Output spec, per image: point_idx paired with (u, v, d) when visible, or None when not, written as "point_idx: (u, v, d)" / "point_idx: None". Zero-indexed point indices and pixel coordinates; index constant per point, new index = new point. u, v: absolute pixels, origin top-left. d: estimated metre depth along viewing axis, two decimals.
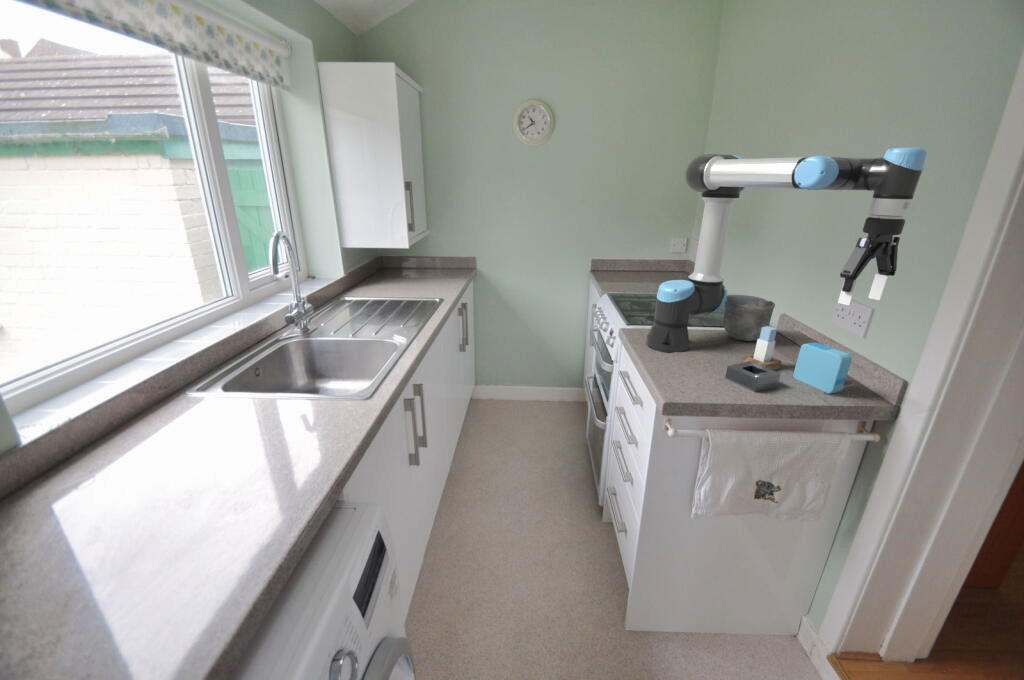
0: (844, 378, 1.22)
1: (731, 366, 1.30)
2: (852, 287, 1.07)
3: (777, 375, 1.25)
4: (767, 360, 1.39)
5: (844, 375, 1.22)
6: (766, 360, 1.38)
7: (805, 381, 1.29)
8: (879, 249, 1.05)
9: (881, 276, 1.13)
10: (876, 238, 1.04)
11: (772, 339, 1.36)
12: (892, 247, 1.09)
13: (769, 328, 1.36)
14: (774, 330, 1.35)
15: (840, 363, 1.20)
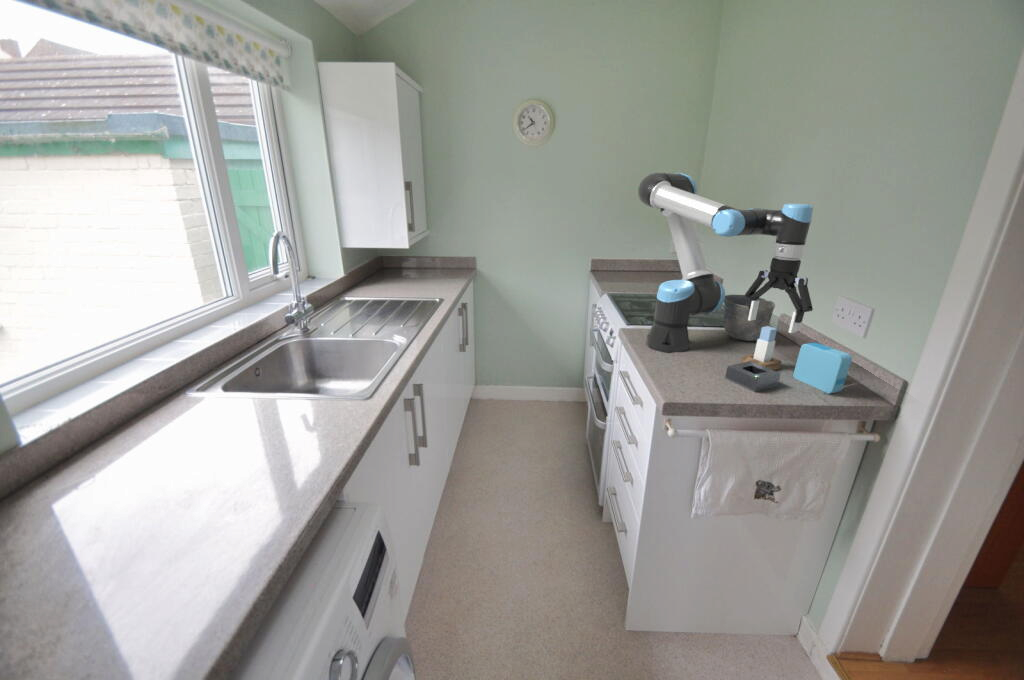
0: (844, 378, 1.22)
1: (731, 366, 1.30)
2: None
3: (777, 375, 1.25)
4: (767, 360, 1.39)
5: (844, 375, 1.22)
6: (766, 360, 1.38)
7: (805, 381, 1.29)
8: (770, 281, 1.32)
9: None
10: (770, 272, 1.33)
11: (772, 339, 1.36)
12: None
13: (769, 328, 1.36)
14: (774, 330, 1.35)
15: (840, 363, 1.19)
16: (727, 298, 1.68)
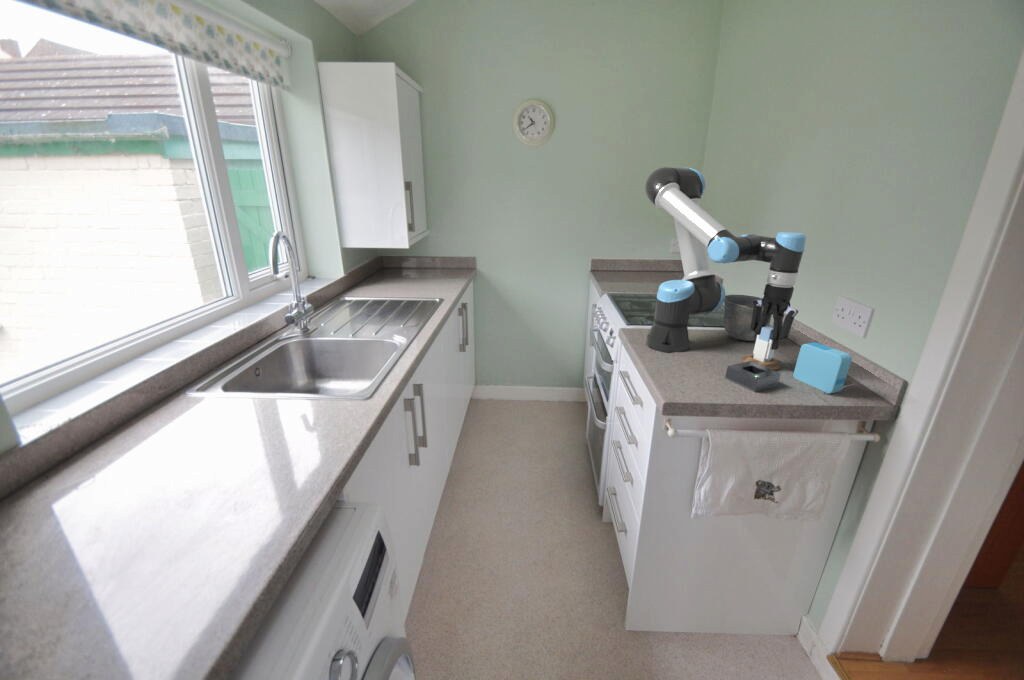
0: (844, 378, 1.22)
1: (731, 366, 1.30)
2: None
3: (777, 375, 1.25)
4: (767, 360, 1.39)
5: (844, 375, 1.22)
6: (766, 360, 1.38)
7: (805, 381, 1.29)
8: (765, 308, 1.35)
9: None
10: (762, 298, 1.36)
11: None
12: None
13: (769, 328, 1.36)
14: None
15: (840, 363, 1.19)
16: (727, 298, 1.68)
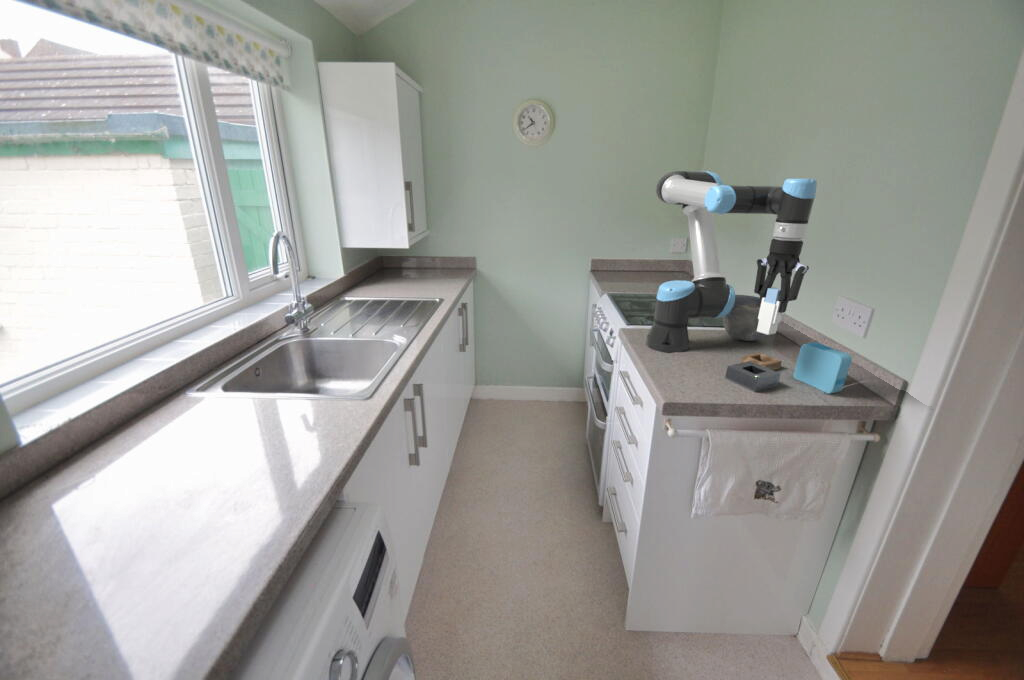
0: (844, 378, 1.22)
1: (731, 366, 1.30)
2: None
3: (777, 375, 1.25)
4: (774, 325, 1.25)
5: (844, 375, 1.22)
6: (773, 325, 1.25)
7: (805, 381, 1.29)
8: (771, 266, 1.21)
9: None
10: None
11: None
12: None
13: (776, 289, 1.22)
14: None
15: (840, 363, 1.19)
16: None
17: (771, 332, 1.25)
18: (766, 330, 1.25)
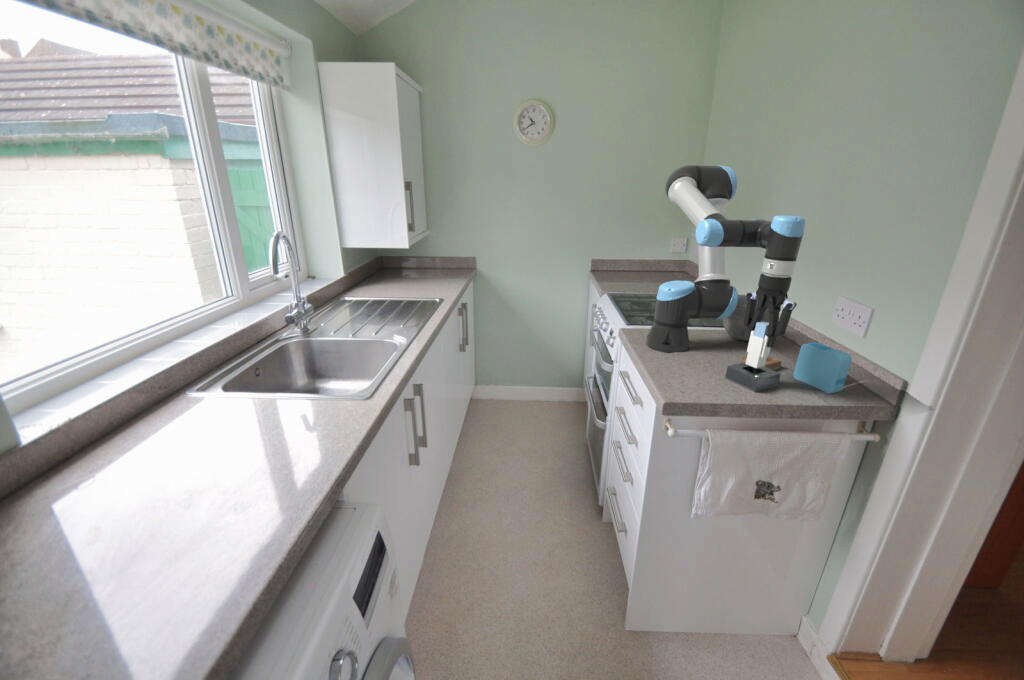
0: (844, 378, 1.22)
1: (731, 366, 1.30)
2: None
3: (777, 375, 1.25)
4: (762, 359, 1.25)
5: (844, 375, 1.22)
6: (761, 359, 1.25)
7: (805, 381, 1.29)
8: (760, 301, 1.21)
9: None
10: None
11: None
12: None
13: (764, 323, 1.22)
14: None
15: (840, 363, 1.20)
16: None
17: (759, 365, 1.25)
18: (754, 364, 1.25)
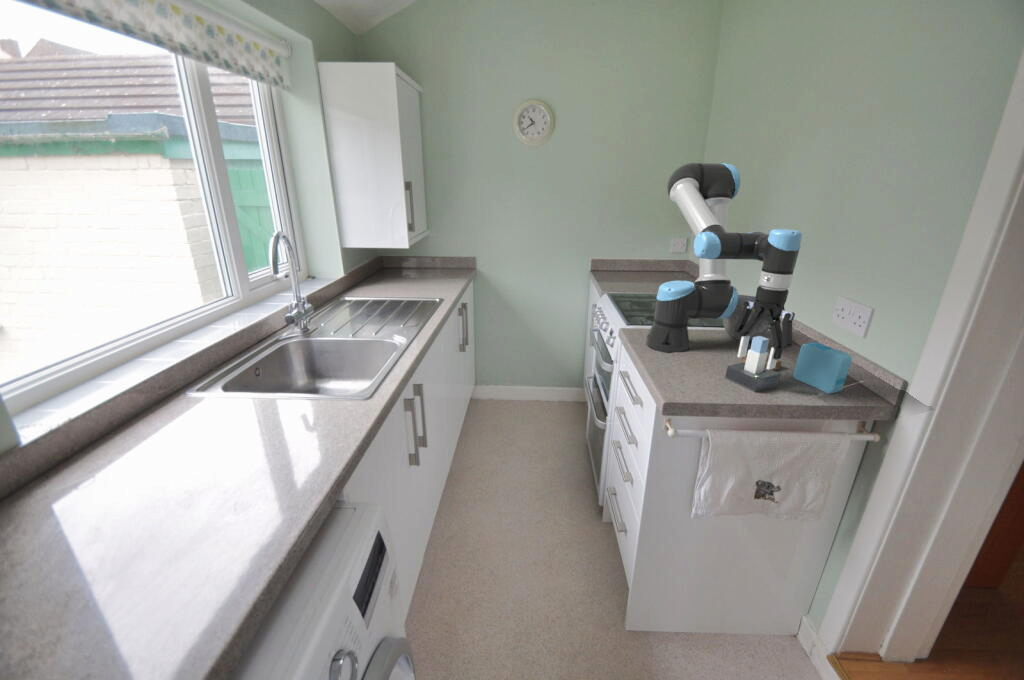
0: (844, 378, 1.22)
1: (731, 366, 1.30)
2: None
3: (777, 375, 1.25)
4: None
5: (844, 375, 1.22)
6: (758, 373, 1.26)
7: (805, 381, 1.29)
8: (756, 312, 1.23)
9: None
10: None
11: (764, 350, 1.24)
12: None
13: (761, 338, 1.24)
14: (766, 340, 1.23)
15: (840, 363, 1.20)
16: None
17: None
18: None
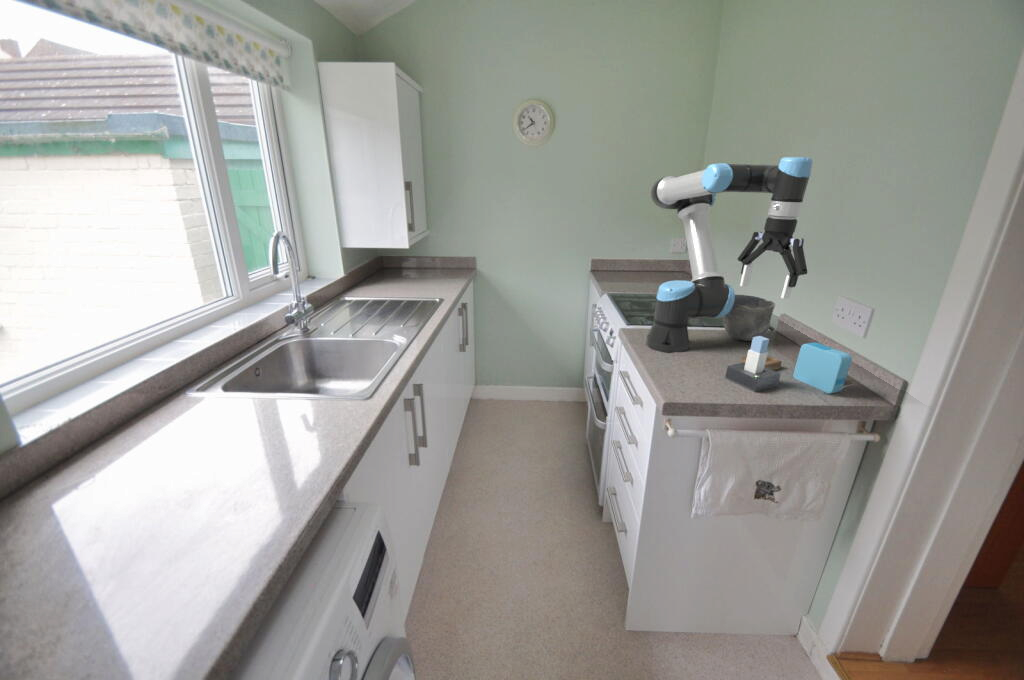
0: (844, 378, 1.22)
1: (731, 366, 1.30)
2: None
3: (777, 375, 1.25)
4: None
5: (844, 375, 1.22)
6: (758, 373, 1.26)
7: (805, 381, 1.29)
8: (764, 243, 1.24)
9: None
10: (764, 233, 1.24)
11: (764, 350, 1.24)
12: None
13: (761, 338, 1.24)
14: (766, 340, 1.23)
15: (840, 363, 1.19)
16: None
17: None
18: None
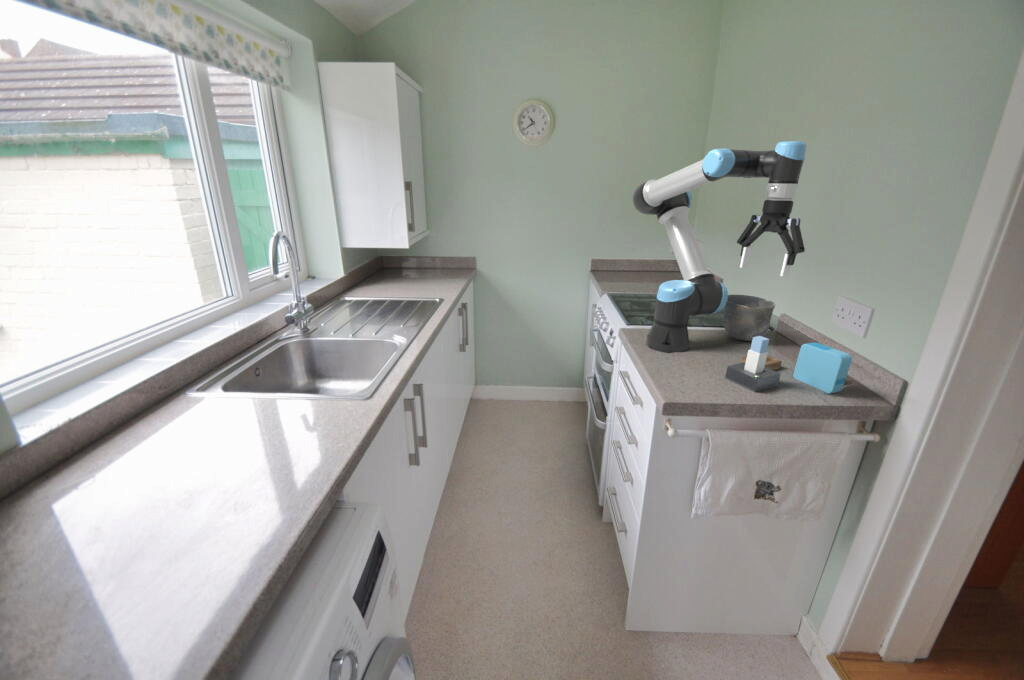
0: (844, 378, 1.22)
1: (731, 366, 1.30)
2: None
3: (777, 375, 1.25)
4: None
5: (844, 375, 1.22)
6: (758, 373, 1.26)
7: (805, 381, 1.29)
8: (762, 225, 1.30)
9: None
10: (762, 215, 1.30)
11: (764, 350, 1.24)
12: None
13: (761, 338, 1.24)
14: (766, 340, 1.23)
15: (840, 363, 1.20)
16: None
17: None
18: None
